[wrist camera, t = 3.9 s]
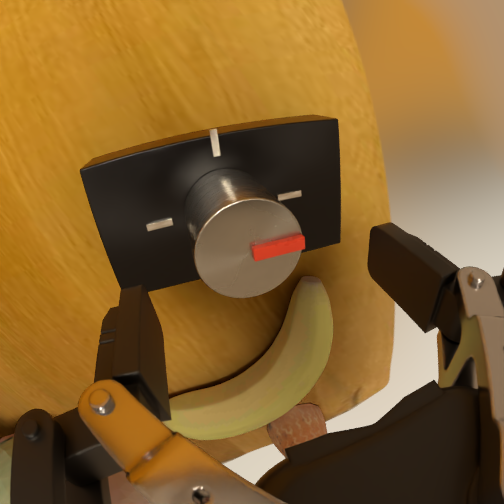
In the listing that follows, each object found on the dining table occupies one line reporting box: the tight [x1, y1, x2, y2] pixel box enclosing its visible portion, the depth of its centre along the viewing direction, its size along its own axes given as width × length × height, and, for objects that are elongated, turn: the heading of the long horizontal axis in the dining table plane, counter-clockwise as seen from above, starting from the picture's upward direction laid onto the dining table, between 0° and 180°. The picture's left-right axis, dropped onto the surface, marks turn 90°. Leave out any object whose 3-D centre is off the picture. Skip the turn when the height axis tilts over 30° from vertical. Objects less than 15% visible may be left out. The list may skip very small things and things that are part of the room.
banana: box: [163, 276, 333, 440], centre depth 24 cm, size 14×6×20 cm
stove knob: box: [185, 169, 305, 298], centre depth 14 cm, size 4×4×5 cm
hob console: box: [80, 115, 341, 292], centre depth 17 cm, size 14×9×3 cm, turn 97°
